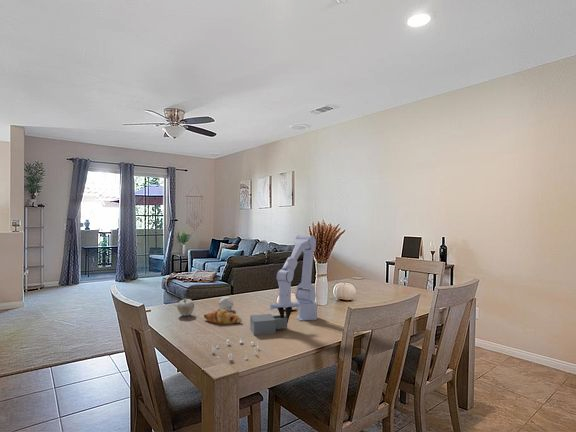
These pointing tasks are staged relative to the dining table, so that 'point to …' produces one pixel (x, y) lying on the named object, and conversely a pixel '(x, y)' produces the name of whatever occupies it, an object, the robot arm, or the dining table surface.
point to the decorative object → (185, 307)
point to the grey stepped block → (266, 323)
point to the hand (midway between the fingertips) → (284, 322)
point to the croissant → (222, 317)
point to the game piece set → (231, 354)
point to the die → (226, 303)
